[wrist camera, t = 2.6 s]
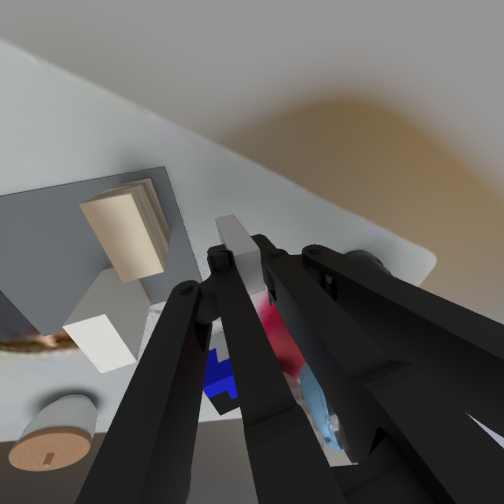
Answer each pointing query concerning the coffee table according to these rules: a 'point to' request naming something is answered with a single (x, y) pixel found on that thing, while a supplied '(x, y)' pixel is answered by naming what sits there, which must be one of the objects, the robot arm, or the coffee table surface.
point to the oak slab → (131, 228)
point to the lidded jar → (56, 435)
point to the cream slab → (110, 320)
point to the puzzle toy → (220, 376)
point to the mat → (75, 248)
